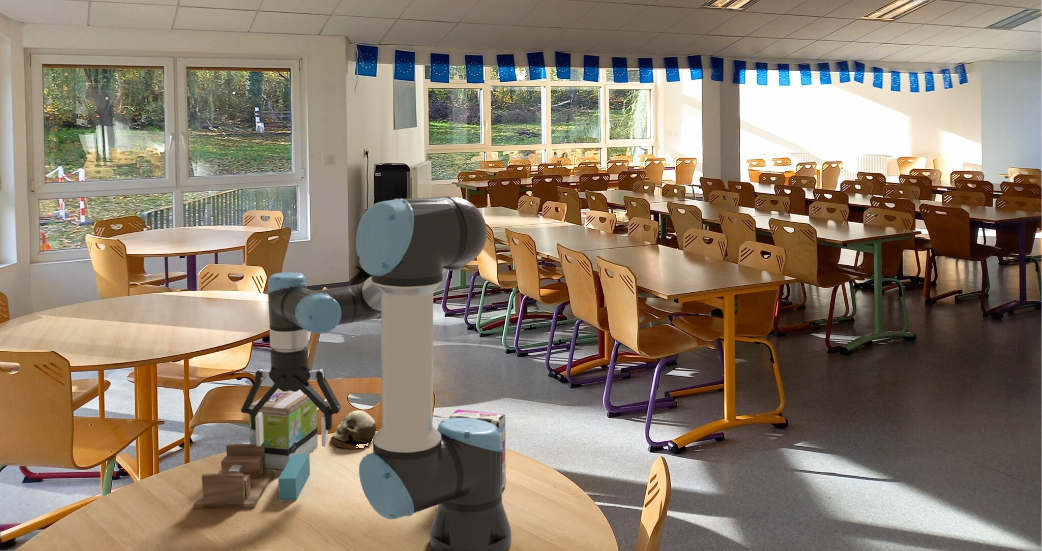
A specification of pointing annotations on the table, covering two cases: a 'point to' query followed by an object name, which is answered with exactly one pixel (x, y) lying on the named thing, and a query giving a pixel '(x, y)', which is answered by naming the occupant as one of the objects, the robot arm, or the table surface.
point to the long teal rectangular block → (294, 477)
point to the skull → (354, 430)
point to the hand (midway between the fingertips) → (292, 444)
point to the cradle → (236, 479)
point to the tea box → (287, 427)
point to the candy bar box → (493, 419)
